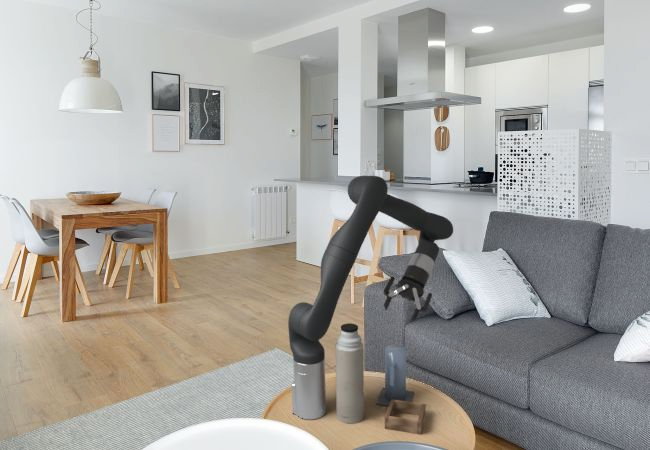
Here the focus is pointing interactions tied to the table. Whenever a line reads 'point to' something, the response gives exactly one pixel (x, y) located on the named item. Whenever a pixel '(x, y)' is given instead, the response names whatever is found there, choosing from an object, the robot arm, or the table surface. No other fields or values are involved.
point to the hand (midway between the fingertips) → (398, 314)
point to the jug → (395, 372)
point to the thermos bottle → (349, 375)
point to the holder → (404, 423)
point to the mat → (385, 402)
